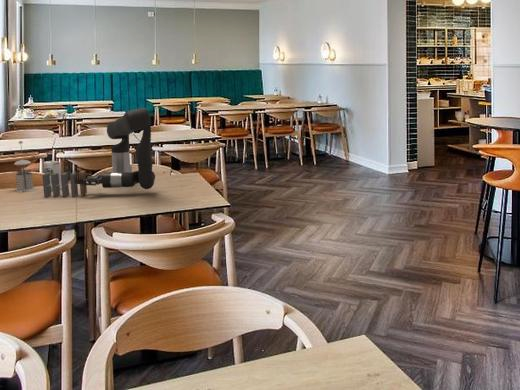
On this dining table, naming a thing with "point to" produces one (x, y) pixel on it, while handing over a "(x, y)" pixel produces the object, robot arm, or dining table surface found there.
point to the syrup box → (52, 170)
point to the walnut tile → (82, 187)
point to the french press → (24, 176)
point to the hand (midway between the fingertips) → (77, 180)
